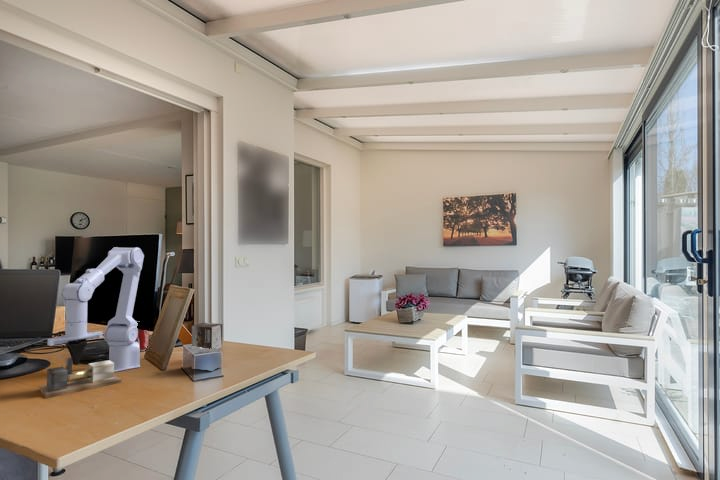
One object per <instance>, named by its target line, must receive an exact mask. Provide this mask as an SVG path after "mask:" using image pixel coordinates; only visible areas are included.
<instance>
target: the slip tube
mask: <svg viewBox="0 0 720 480" xmlns="http://www.w3.org/2000/svg"><path fill="white" fill-rule="evenodd" d="M65 362H66V363H65V369H66V370H68V373H67V382H72V381H77V380H82V379H87V378H91V377H92V371H91V369H89V368H88V369H83V370H77V371H73V362H72V358H71V356H70V357H66V358H65Z"/></svg>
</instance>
